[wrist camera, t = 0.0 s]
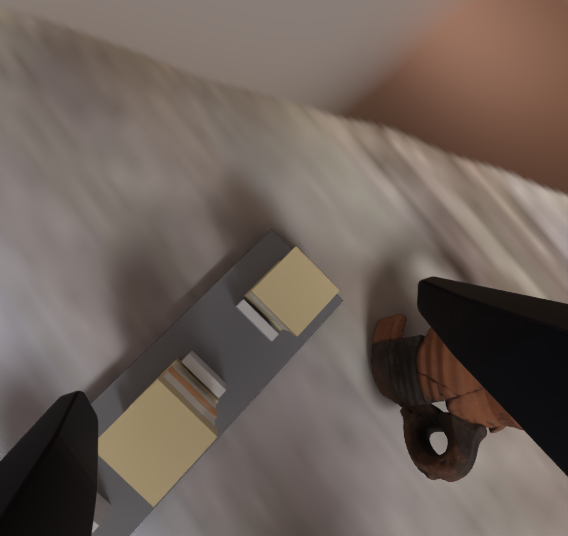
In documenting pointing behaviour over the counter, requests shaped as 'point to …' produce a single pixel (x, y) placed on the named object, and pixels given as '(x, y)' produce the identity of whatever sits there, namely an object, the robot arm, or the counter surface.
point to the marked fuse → (161, 432)
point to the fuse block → (220, 354)
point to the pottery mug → (434, 399)
